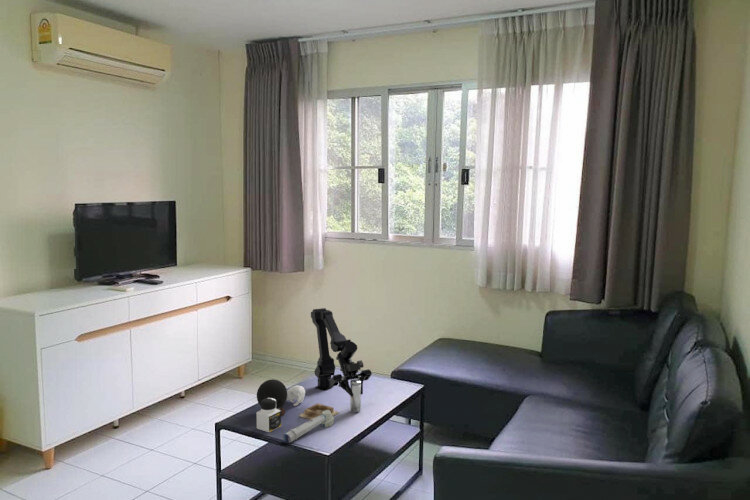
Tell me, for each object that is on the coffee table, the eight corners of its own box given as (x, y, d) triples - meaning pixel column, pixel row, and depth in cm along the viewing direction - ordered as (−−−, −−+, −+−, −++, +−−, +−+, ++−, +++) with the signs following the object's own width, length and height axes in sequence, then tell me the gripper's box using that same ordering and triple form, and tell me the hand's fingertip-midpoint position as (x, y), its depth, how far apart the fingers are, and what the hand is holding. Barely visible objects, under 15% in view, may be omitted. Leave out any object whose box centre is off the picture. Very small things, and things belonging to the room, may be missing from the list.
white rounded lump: (298, 388, 243) (276, 386, 248) (300, 407, 243) (278, 405, 248) (306, 384, 248) (284, 382, 253) (307, 402, 249) (286, 400, 254)
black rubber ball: (293, 412, 238) (293, 379, 236) (271, 422, 227) (270, 387, 226) (273, 405, 246) (272, 373, 244) (250, 414, 235) (250, 381, 234)
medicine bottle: (269, 433, 217) (268, 404, 216) (256, 428, 221) (255, 400, 220) (281, 426, 223) (281, 398, 222) (268, 422, 227) (268, 395, 226)
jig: (299, 416, 233) (299, 410, 233) (316, 407, 243) (316, 401, 243) (321, 423, 227) (321, 416, 227) (338, 413, 237) (338, 407, 237)
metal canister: (348, 410, 239) (348, 381, 237) (354, 406, 242) (354, 378, 241) (356, 412, 236) (357, 383, 235) (362, 409, 240) (363, 380, 238)
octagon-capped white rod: (281, 432, 210) (326, 405, 228) (283, 447, 211) (328, 419, 229) (290, 436, 206) (335, 408, 225) (292, 451, 207) (337, 422, 226)
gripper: (332, 357, 235) (343, 390, 227) (370, 351, 245) (382, 383, 236) (325, 370, 243) (335, 402, 235) (362, 363, 252) (373, 394, 244)
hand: (357, 395), depth 237 cm, fingers closed on metal canister, 5 cm apart
